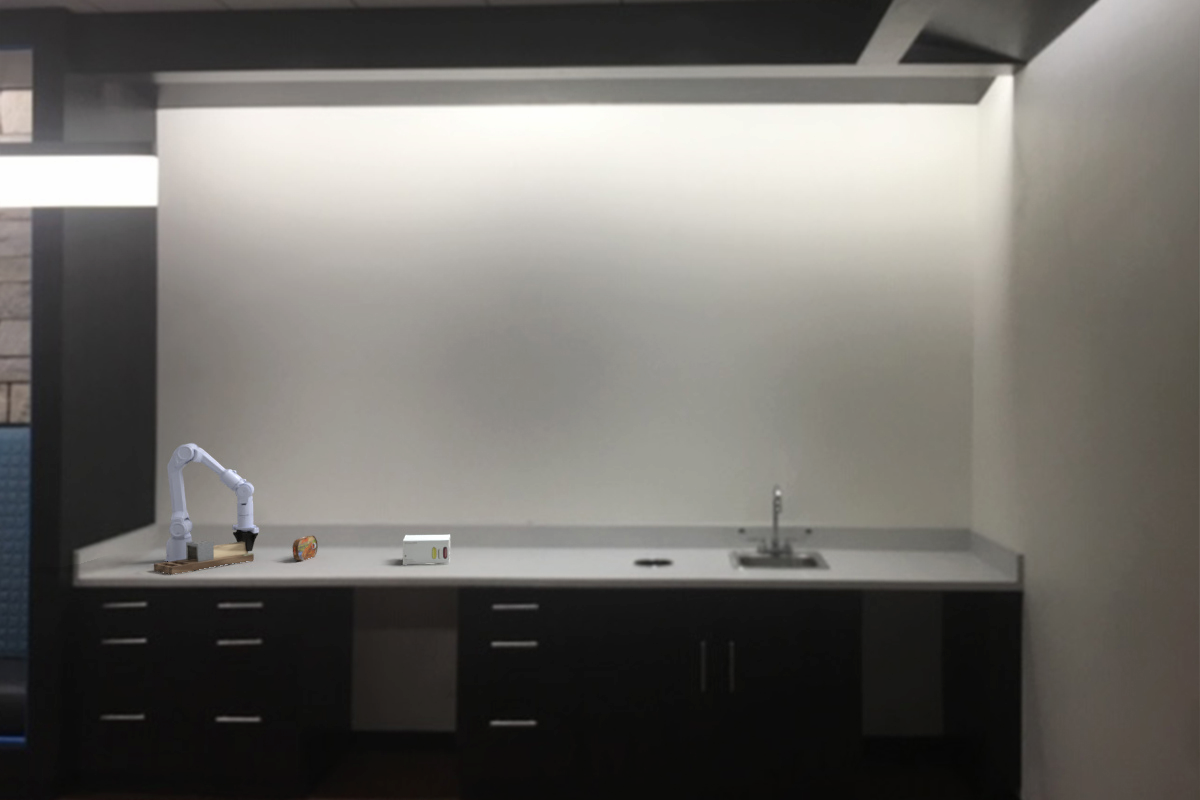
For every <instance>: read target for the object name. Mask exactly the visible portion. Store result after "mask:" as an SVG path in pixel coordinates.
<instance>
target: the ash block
mask: <svg viewBox="0 0 1200 800" xmlns="http://www.w3.org/2000/svg"><path fill="white" fill-rule="evenodd" d="M246 553H249V551H248V552H247V551H246V546H245V542H237V541H236V542H231V543H223V544H216V545H214V559H215V558H221V557H227V556H234V555H240V554H246Z"/></svg>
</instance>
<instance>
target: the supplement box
mask: <svg viewBox="0 0 1200 800" xmlns="http://www.w3.org/2000/svg"><path fill="white" fill-rule="evenodd" d="M450 557H451V534H450V533H449V534H405V536H404V537H403V540H402V566H408V565H407V564H425V563H449V564H450V562H451V558H450Z"/></svg>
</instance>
